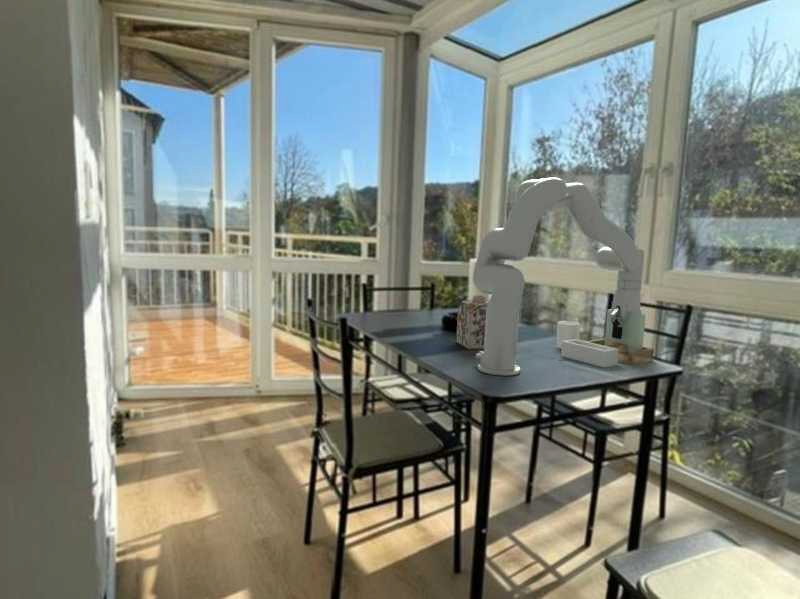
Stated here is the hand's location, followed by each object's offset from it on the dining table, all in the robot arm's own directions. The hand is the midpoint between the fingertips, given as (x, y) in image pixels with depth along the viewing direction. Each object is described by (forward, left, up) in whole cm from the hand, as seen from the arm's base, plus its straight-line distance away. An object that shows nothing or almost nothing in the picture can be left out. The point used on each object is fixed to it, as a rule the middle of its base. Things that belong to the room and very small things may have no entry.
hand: (623, 336), depth 179 cm
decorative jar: (-38, -31, -8) cm, 50 cm away
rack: (0, -3, -7) cm, 8 cm away
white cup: (-17, -7, -8) cm, 20 cm away
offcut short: (0, -4, -4) cm, 5 cm away
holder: (-2, -16, -7) cm, 18 cm away
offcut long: (-1, -4, -7) cm, 7 cm away
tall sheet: (0, 0, -6) cm, 6 cm away
